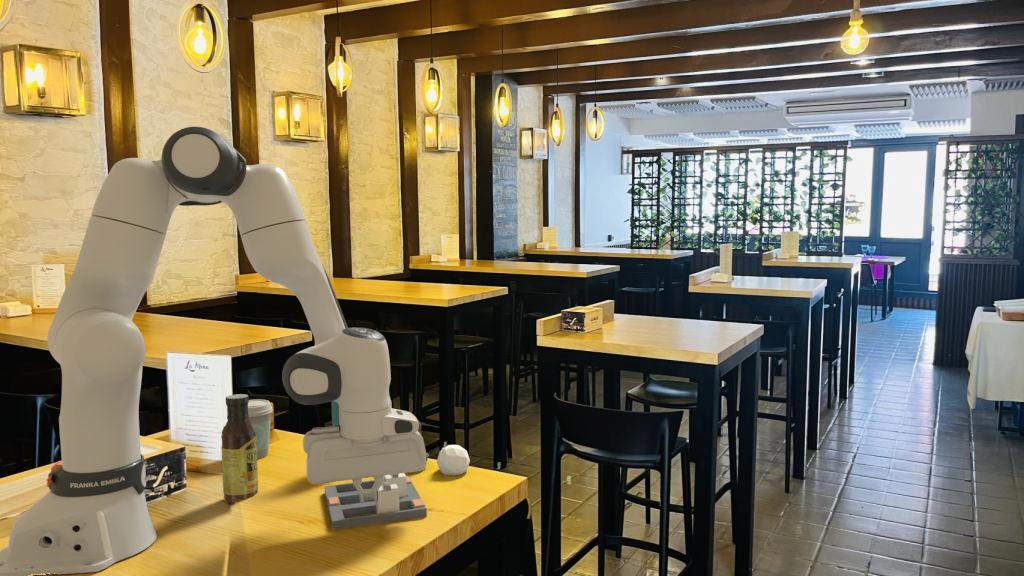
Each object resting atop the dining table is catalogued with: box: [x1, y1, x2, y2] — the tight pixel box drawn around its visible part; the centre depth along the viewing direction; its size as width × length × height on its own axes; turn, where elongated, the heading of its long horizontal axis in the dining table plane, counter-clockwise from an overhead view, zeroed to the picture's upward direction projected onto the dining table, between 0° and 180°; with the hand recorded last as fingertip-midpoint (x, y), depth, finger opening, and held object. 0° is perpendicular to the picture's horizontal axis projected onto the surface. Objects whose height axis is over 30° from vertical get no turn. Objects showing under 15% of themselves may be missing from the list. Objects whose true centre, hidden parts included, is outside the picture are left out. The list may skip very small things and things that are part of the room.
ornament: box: [436, 444, 471, 476], centre depth 148 cm, size 6×7×7 cm
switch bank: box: [324, 475, 428, 531], centre depth 131 cm, size 16×17×3 cm
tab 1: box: [384, 473, 407, 498], centre depth 132 cm, size 4×3×6 cm
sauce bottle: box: [220, 393, 259, 505], centre depth 136 cm, size 6×6×20 cm
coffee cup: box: [248, 398, 274, 460], centre depth 161 cm, size 8×8×12 cm
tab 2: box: [375, 482, 401, 514], centre depth 126 cm, size 4×3×6 cm
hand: (368, 500), depth 124 cm, fingers closed
